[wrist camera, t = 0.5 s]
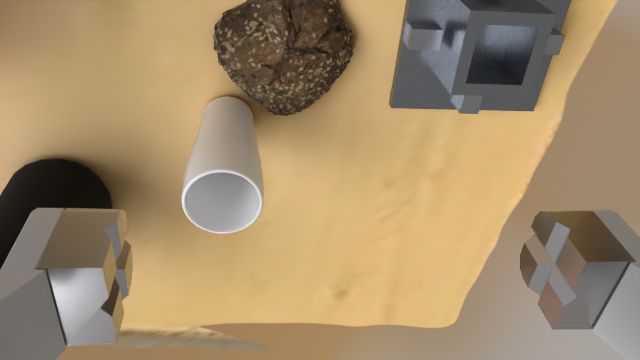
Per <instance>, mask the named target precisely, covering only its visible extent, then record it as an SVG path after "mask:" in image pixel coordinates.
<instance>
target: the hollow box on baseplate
mask: <svg viewBox="0 0 640 360" xmlns="http://www.w3.org/2000/svg"><path fill="white" fill-rule="evenodd" d="M570 1H571V0H407V1H406V7H405V12H404V18H403V24H402V30H401V36H400V42H399V48H398V54H397V60H396V66H395V72H394V78H393V84H392V90H391V95H390V101H389V105H390V107H391V108H414V109H457V110H458V111H459V113H464V114H478V112H479V110H503V111H534V108H535V105H536V102H537V99H538V96H539V93H540V90H541V87H542V84H543V81H544V78H545V75H546V72H547V69H548V67H549V64H550V61H551V58H552V55H559V52H560V49H561V46H562V43H563V40H564V37H565V35H564V34H562V33H561V32H560V31H561V28H562V25H563V22H564V19H565V16H566V13H567V10H568V7H569V4H570Z"/></svg>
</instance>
